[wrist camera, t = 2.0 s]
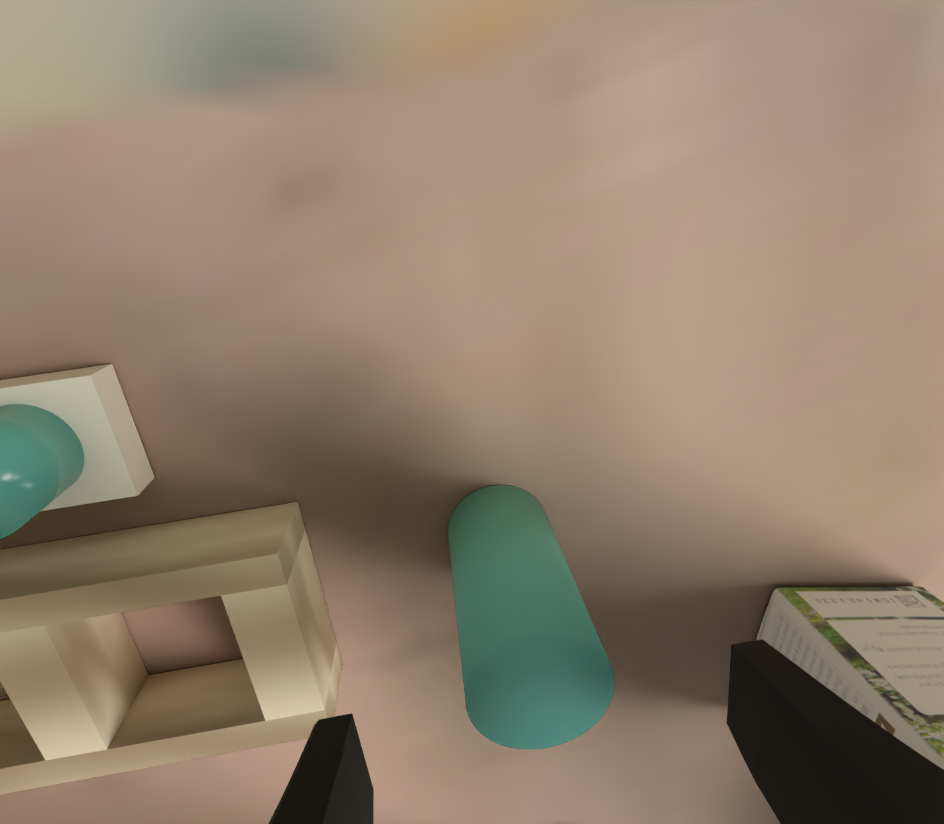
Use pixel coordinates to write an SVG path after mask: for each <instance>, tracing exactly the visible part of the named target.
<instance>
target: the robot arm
mask: <svg viewBox="0 0 944 824" xmlns="http://www.w3.org/2000/svg"><path fill="white" fill-rule="evenodd" d="M727 724H728V726H729V729H730V731H731V733H732V735H733V737H734V739H735V741H736V743H737V745H738V748H739V750H740V752H741V754H742V756H743V758H744V760H745V762H746V764H747V766H748V768H749V770H750V772H751V774H752V776H753V778H754V780H755V782H756V784H757V785H758V787H759V789H760V790H761V792H762V794H763V795H764V797H765V799H766V800H767V802H768V803H769V805H770V807H771V808H772V810H773V812H774V813H775V815H776V817H777V818H778V820H779V821H780V823H781V824H944V770H943V769H942V768H940V767H939V766H937V765H936V764H934V763H933V762H931V761H930V760H928V759H927V758H925V757H924V756H922V755H921V754H919V753H918V752H916V751H915V750H913V749H912V748H911V747H909V746H908V745H906V744H905V743H903V742H902V741H900V740H899V739H897V738H896V737H895V736H893V735H892V734H890V733H889V732H888V731H886V730H885V729H883V728H882V727H881V726H879V725H878V724H876V723H875V722H874V721H872V720H871V719H869V718H868V717H867V716H865V715H864V714H862V713H861V712H860V711H858V710H857V709H855V708H854V707H853V706H851V705H850V704H849V703H847V702H846V701H844V700H843V699H842V698H840V697H839V696H838V695H836V694H835V693H834V692H832V691H831V690H830V689H828V688H827V687H826V686H824V685H823V684H822V683H820V682H819V681H818V680H816V679H815V678H814V677H812V676H811V675H810V674H808V673H807V672H806V671H804V670H803V669H802V668H800V667H799V666H798V665H796V664H795V663H794V662H792V661H791V660H790V659H788V658H787V657H786V656H784V655H783V654H782V653H780V652H779V651H778V650H776V649H775V648H774V647H772V646H771V645H770V644H768V643H767V642H766V641H764V640H763V639H762V640H756V641H751V642H745V643H739V644H734V645H732V646H731V663H730V680H729V697H728V713H727ZM269 824H373V786H372V783H371V779H370V776H369V772H368V768H367V765H366V761H365V758H364V754H363V751H362V747H361V744H360V740H359V736H358V733H357V729H356V726H355V722H354V719H353V715H352V714H347V715H341V716H336V717H330V718H325V719H319V720H318V721H317V722H316V724H315V725H314V727H313V729H312V731H311V734H310V736H309V739H308V741H307V743H306V746H305V748H304V750H303V752H302V755H301V757H300V759H299V761H298V764H297V766H296V768H295V770H294V772H293V775H292V777H291V779H290V781H289V783H288V785H287V787H286V789H285V792H284V794H283V796H282V798H281V800H280V802H279V804H278V806H277V808H276V810H275V812H274V814H273V816H272V818H271V820H270V822H269Z"/></svg>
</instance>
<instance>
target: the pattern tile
mask: <svg viewBox="0 0 944 824" xmlns="http://www.w3.org/2000/svg"><path fill="white" fill-rule="evenodd" d="M154 478H155V477H154V474H153V471H152V469H151V466H150V463H149V461H148V458H147V455H146V453H145V450H144V447H143V445H142V442H141V439H140V437H139V434H138V431H137V429H136V426H135V423H134V421H133V418H132V415H131V413H130V410H129V407H128V405H127V402H126V399H125V397H124V394H123V391H122V389H121V386H120V383H119V381H118V378H117V375H116V373H115V370H114V367H113V365H112V364H108V365H101V366H94V367H87V368H80V369H73V370H66V371H60V372H53V373H46V374H39V375H32V376H25V377H18V378H12V379H5V380H0V538H3V537H6V536H8V535H10V534H12V533H14V532H15V531H17V530H18V529H19V528H21V527H22V526H23V525H24V524H25V523H27V522H28V521H29V520H30V519H32V518H33V517H34V516H35V515H36V514H38V513H39V512H40V511H45V510H51V509H57V508H64V507H70V506H76V505H83V504H89V503H95V502H102V501H108V500H114V499H121V498H127V497H133V496H138V495H139V494H140V493H141V492H142V491H143V490H144V489H145V487H146V486H147V485H148V484H149V483H150V482H151V481H152V480H153V479H154Z"/></svg>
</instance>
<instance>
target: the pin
mask: <svg viewBox="0 0 944 824" xmlns="http://www.w3.org/2000/svg"><path fill="white" fill-rule="evenodd" d="M448 539H449V548H450V558H451V568H452V577H453V587H454V596H455V606H456V615H457V625H458V634H459V644H460V654H461V663H462V673H463V682H464V692H465V701H466V709H467V713H468V716H469V718H470V720H471V722H472V723H473V725H474V726H475V728H476V729H477V730H478V731H479V732H480V733H481V734H483V735H484V736H485V737H487V738H488V739H490V740H492V741H493V742H495V743H498V744H500V745H503V746H507V747H510V748H516V749H528V750H529V749H542V748H549V747H553V746H557V745H560V744H563V743H566V742H568V741H570V740H572V739H574V738H576V737H578V736H580V735H581V734H583V733H584V732H586V731H587V730H589V729H590V728H591V727H592V726H593V725H594V724H596V723H597V721H598V720H599V719H600V718H601V717H602V716H603V714H604V713H605V712H606V710H607V708H608V706H609V704H610V702H611V700H612V697H613V693H614V688H615V678H614V672H613V669H612V666H611V664H610V661H609V659H608V657H607V654H606V652H605V650H604V648H603V645H602V643H601V641H600V638H599V636H598V634H597V631H596V629H595V627H594V624H593V622H592V620H591V617H590V615H589V613H588V611H587V608H586V606H585V604H584V601H583V599H582V597H581V594H580V592H579V590H578V587H577V585H576V583H575V580H574V578H573V576H572V574H571V571H570V569H569V567H568V564H567V562H566V560H565V557H564V555H563V553H562V550H561V548H560V546H559V543H558V541H557V539H556V537H555V534H554V532H553V530H552V527H551V525H550V523H549V520H548V518H547V516H546V513H545V511H544V509H543V507H542V505H541V504H540V503H539V501H538V500H537V499H536V498H535V497H534V496H533V495H531V494H530V493H529V492H527V491H525V490H523V489H520V488H518V487H514V486H509V485H494V486H488V487H485V488H482V489H479V490H477V491H475V492H473V493H471V494H470V495H468V496H467V497H466V498H464V499H463V500H462V501H461V502H460V503H459V504H458V506H457V507H456V508H455V510H454V512H453V513H452V515H451V518H450V521H449V525H448Z"/></svg>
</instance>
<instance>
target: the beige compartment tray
mask: <svg viewBox="0 0 944 824" xmlns="http://www.w3.org/2000/svg"><path fill="white" fill-rule="evenodd" d="M216 596H221V598H222V600H223V603H224V606H225V609H226V612H227V614H228V617H229V620H230V623H231V626H232V628H233V631H234V634H235V637H236V640H237V642H238V645H239V648H240V651H241V654H242V656H243V659H239V660H233V661H228V662H222V663H216V664H210V665H205V666H199V667H193V668H188V669H182V670H176V671H170V672H165V673H159V674H153V675H148V672H147V670H146V668H145V666H144V663H143V661H142V659H141V657H140V654H139V652H138V650H137V648H136V645H135V643H134V641H133V639H132V636H131V634H130V632H129V630H128V627H127V625H126V623H125V621H124V618H123V616H122V614H121V612H127V611H133V610H139V609H145V608H151V607H157V606H163V605H169V604H175V603H180V602H186V601H192V600H198V599H204V598H210V597H216ZM341 670H342V661H341V657H340V654H339V650H338V646H337V643H336V639H335V636H334V632H333V628H332V625H331V621H330V617H329V614H328V610H327V606H326V603H325V599H324V596H323V592H322V588H321V585H320V581H319V577H318V574H317V570H316V566H315V563H314V559H313V555H312V552H311V548H310V545H309V541H308V537H307V534H306V530H305V526H304V523H303V519H302V515H301V512H300V508H299V504H298V502H293V503H287V504H281V505H275V506H269V507H262V508H256V509H250V510H244V511H238V512H231V513H225V514H219V515H213V516H206V517H200V518H194V519H188V520H182V521H175V522H169V523H163V524H157V525H151V526H144V527H138V528H132V529H126V530H119V531H113V532H107V533H101V534H95V535H88V536H82V537H76V538H70V539H64V540H57V541H51V542H45V543H39V544H33V545H26V546H20V547H14V548H8V549H1V550H0V682H1V684H2V686H3V687H4V689H5V691H6V693H7V694H8V696H9V698H10V700H4V701H0V794H6V793H11V792H17V791H22V790H28V789H33V788H39V787H44V786H50V785H55V784H61V783H66V782H72V781H77V780H82V779H88V778H93V777H99V776H104V775H110V774H115V773H121V772H126V771H132V770H137V769H143V768H148V767H154V766H159V765H164V764H170V763H175V762H181V761H186V760H192V759H197V758H203V757H208V756H214V755H219V754H225V753H230V752H236V751H241V750H247V749H252V748H257V747H263V746H268V745H274V744H279V743H285V742H290V741H296V740H301V739H307V738H309V736H310V734H311V731H312V729H313V727H314V725H315V724H316V722H317V721H318V720H319V719H325V718H330V717H335V710H336V703H337V697H338V690H339V684H340V677H341Z"/></svg>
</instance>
